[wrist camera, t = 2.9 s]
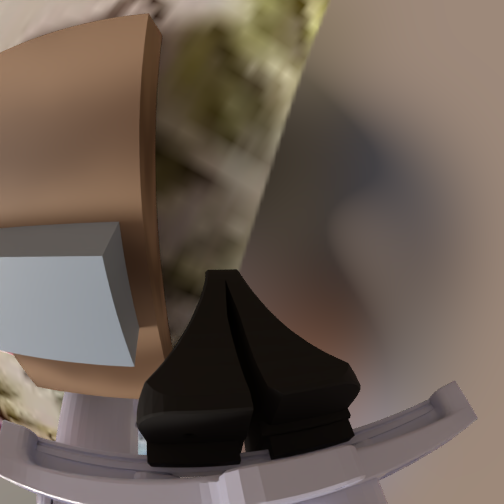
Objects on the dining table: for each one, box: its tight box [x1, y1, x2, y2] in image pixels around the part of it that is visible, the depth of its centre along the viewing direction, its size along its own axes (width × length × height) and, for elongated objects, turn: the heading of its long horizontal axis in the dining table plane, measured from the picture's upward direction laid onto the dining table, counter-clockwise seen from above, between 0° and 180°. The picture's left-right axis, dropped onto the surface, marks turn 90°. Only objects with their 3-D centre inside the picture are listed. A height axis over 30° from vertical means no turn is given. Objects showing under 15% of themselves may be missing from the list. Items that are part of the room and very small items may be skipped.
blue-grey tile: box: [0, 222, 139, 367], centre depth 10 cm, size 6×9×2 cm, turn 85°
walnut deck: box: [0, 14, 173, 399], centre depth 12 cm, size 22×12×4 cm, turn 175°
